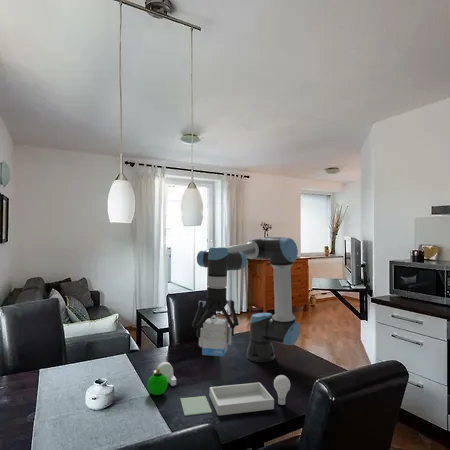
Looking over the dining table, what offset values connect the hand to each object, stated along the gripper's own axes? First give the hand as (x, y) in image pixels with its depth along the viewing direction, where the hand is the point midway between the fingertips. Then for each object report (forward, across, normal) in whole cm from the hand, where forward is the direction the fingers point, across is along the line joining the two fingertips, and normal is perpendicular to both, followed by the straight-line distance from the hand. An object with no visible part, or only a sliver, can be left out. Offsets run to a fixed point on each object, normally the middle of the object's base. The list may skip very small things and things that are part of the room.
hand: (214, 345), depth 125 cm
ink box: (+3, 0, 0) cm, 3 cm away
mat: (+23, +6, -1) cm, 24 cm away
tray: (+23, -11, 0) cm, 25 cm away
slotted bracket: (+23, +16, -26) cm, 38 cm away
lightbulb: (+23, -26, +6) cm, 35 cm away
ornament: (+23, +20, -13) cm, 33 cm away
